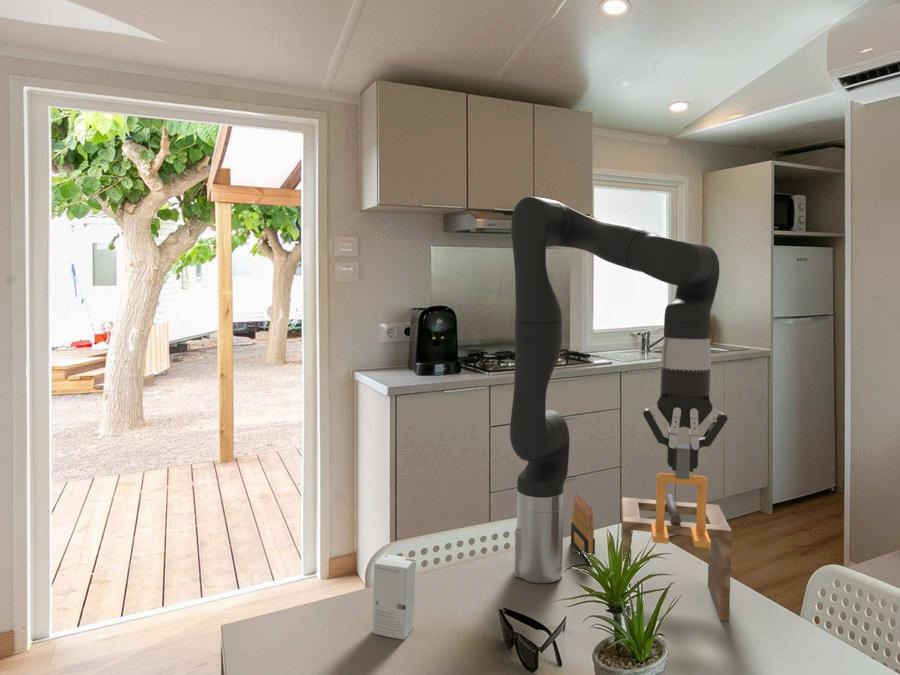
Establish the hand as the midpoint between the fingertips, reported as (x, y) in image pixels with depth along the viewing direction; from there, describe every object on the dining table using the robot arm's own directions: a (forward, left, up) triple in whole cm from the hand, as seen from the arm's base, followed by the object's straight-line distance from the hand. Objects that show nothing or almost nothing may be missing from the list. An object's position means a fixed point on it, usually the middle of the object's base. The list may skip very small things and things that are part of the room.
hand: (682, 469), depth 102 cm
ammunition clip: (-17, +29, -28) cm, 44 cm away
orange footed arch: (0, 0, -12) cm, 12 cm away
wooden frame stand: (0, +13, -28) cm, 31 cm away
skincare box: (-46, -12, -28) cm, 55 cm away
